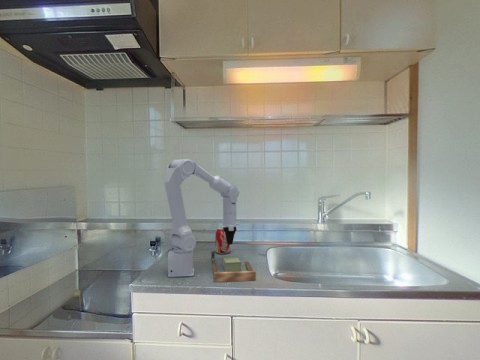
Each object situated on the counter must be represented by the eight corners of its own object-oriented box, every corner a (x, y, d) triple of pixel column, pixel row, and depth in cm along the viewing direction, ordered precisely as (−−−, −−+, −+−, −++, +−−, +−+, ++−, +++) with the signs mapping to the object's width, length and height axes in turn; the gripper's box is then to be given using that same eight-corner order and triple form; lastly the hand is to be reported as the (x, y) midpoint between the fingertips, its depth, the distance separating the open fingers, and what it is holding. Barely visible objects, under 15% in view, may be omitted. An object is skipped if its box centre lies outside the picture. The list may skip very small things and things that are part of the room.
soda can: (217, 255, 145) (216, 229, 145) (214, 251, 152) (214, 226, 152) (231, 254, 147) (231, 228, 147) (228, 250, 154) (228, 226, 153)
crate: (225, 273, 121) (225, 263, 121) (222, 267, 128) (222, 257, 128) (241, 272, 123) (241, 262, 122) (237, 266, 130) (237, 256, 130)
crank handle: (215, 263, 133) (215, 256, 133) (211, 263, 133) (211, 256, 133) (214, 257, 141) (214, 251, 141) (211, 257, 141) (211, 251, 141)
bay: (214, 282, 112) (214, 273, 112) (212, 266, 129) (212, 259, 129) (255, 280, 114) (255, 272, 113) (248, 265, 131) (248, 258, 131)
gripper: (241, 215, 127) (241, 248, 128) (237, 210, 142) (237, 239, 142) (223, 215, 126) (223, 248, 127) (221, 210, 141) (221, 240, 141)
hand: (229, 244), depth 135 cm, fingers closed
